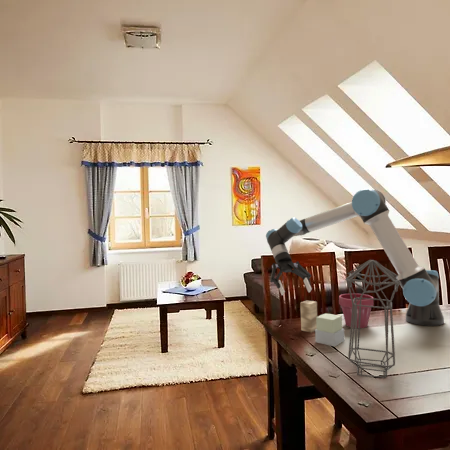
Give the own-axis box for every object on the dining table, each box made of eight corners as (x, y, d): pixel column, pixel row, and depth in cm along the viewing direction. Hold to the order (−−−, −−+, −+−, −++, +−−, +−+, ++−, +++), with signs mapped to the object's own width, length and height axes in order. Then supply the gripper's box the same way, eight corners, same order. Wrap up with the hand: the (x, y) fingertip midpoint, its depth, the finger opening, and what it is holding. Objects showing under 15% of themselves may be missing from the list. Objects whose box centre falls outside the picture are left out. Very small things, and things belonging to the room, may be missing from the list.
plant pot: (374, 322, 170) (373, 293, 170) (374, 331, 157) (373, 300, 157) (341, 319, 175) (340, 292, 175) (338, 328, 162) (337, 299, 162)
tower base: (344, 341, 147) (344, 328, 146) (334, 347, 141) (334, 333, 141) (325, 337, 152) (325, 325, 152) (315, 342, 146) (315, 329, 146)
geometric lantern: (347, 359, 128) (347, 256, 127) (398, 366, 122) (398, 258, 121) (343, 378, 113) (343, 262, 112) (401, 386, 107) (401, 264, 107)
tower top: (342, 328, 146) (341, 316, 146) (333, 333, 141) (332, 320, 141) (325, 325, 151) (325, 313, 151) (316, 329, 146) (316, 317, 146)
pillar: (317, 329, 162) (316, 301, 162) (311, 332, 158) (310, 304, 158) (307, 327, 165) (306, 300, 165) (301, 330, 162) (300, 302, 161)
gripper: (302, 259, 191) (318, 294, 177) (256, 262, 184) (269, 299, 170) (306, 249, 186) (324, 284, 172) (259, 252, 179) (273, 289, 165)
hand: (296, 292), depth 171 cm, fingers open, 13 cm apart
